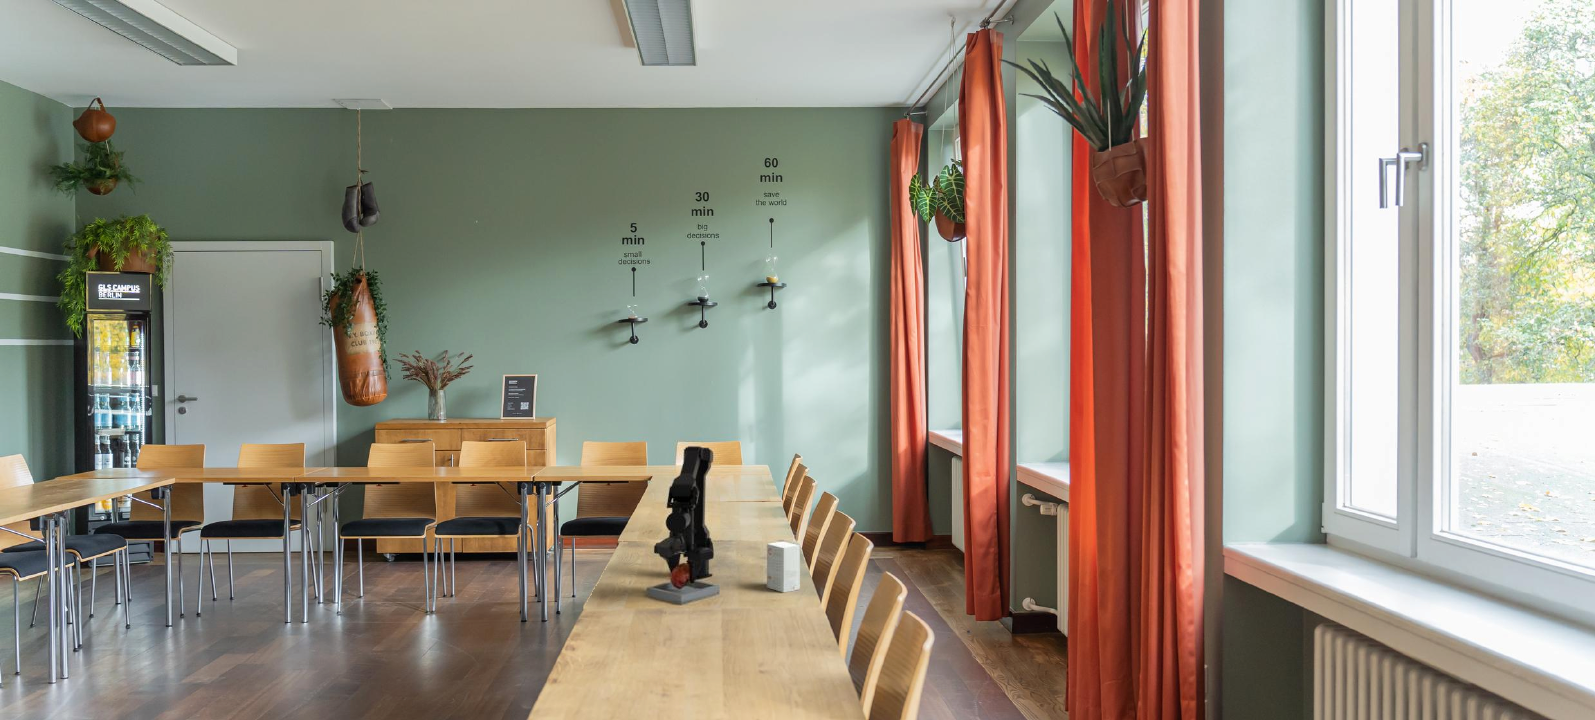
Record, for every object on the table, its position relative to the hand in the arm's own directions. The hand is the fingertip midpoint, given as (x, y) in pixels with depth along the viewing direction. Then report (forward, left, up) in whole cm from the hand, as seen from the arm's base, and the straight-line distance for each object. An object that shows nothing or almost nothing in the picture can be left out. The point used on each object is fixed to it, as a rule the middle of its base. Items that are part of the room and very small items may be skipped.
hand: (683, 581), depth 267 cm
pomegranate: (0, 0, -2) cm, 2 cm away
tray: (0, 0, -4) cm, 4 cm away
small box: (-24, +17, -4) cm, 30 cm away
